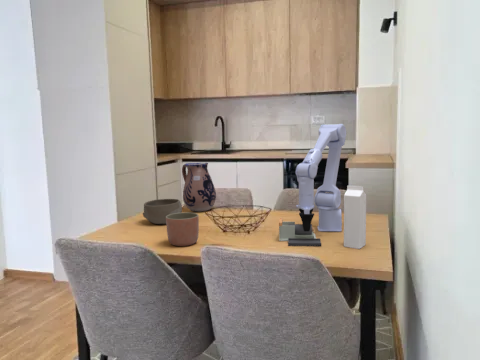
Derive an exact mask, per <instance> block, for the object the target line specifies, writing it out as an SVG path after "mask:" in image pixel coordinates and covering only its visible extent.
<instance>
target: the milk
mask: <svg viewBox="0 0 480 360" xmlns="http://www.w3.org/2000/svg"><path fill="white" fill-rule="evenodd" d="M346 187H347V188H346V191H345V193H344V195H343V247H345V248H351V249H355V250H356V249H357V250H360V249H362V248H363V247H364V246H366V242H367V241H366V240H367V238H366V237H367V235H366V234H367V193H366V192H365V191H364V186H363V185H350V184H349V185H347V186H346Z"/></svg>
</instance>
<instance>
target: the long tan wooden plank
mask: <svg viewBox="0 0 480 360" xmlns="http://www.w3.org/2000/svg"><path fill="white" fill-rule="evenodd" d="M283 222H284V218H283V217H279V220H278V227H279V226H282V223H283Z"/></svg>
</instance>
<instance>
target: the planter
mask: <svg viewBox="0 0 480 360" xmlns="http://www.w3.org/2000/svg"><path fill="white" fill-rule="evenodd" d="M199 219H200V218H199V214H198V213H197V212H188V211H186V212H185V211H182V212H181V213H174V214H169V215H167V216H166V224H165V225H166V234H167V239H168V242H169V244H170V245H172V246H176V247H187V246H191V245H194V244H195V243H197V242H198V238H199V232H200V231H199V229H200V228H199V224H200V223H199V222H200V221H199Z"/></svg>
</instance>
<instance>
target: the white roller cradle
mask: <svg viewBox="0 0 480 360" xmlns="http://www.w3.org/2000/svg"><path fill="white" fill-rule="evenodd" d="M288 224H296V221H283V223H282V226H279V225H278V227H279V228H278V235H279V237H278V241H279V242H288V238H317V237H316V236H317V235H316V233H314V232H315V231H314V232H312V235H302V234H295V226H288Z"/></svg>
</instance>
